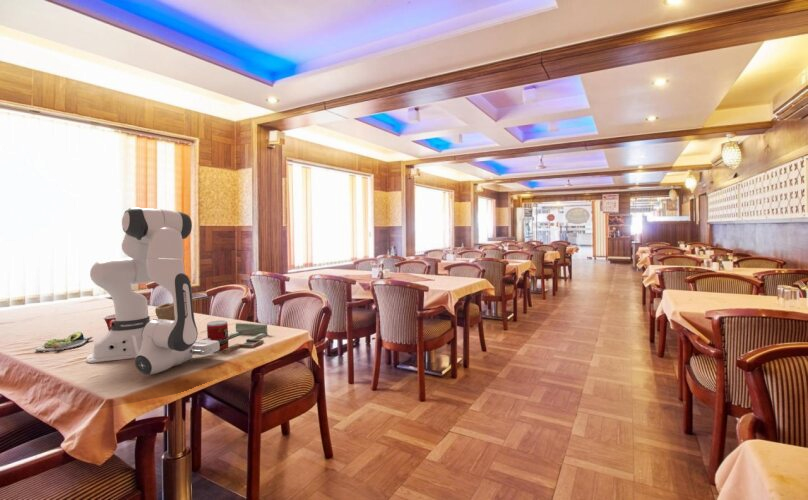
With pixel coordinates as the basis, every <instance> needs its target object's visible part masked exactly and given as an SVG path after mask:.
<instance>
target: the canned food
mask: <svg viewBox="0 0 808 500" xmlns="http://www.w3.org/2000/svg"><path fill="white" fill-rule="evenodd" d="M228 325H229V324H228V321H227V320H214V321H213V320H212V321H208V322H207V323H206V331H207V332H206V335H207V338H208V339H211V340H214V341H219V344H220V349H219V350H218V351H219V352H220V351H222V350H223V349H226V348H228V347H229V339H228V335H229V328H228ZM218 351H217V352H218Z"/></svg>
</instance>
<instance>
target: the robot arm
mask: <svg viewBox="0 0 808 500" xmlns="http://www.w3.org/2000/svg"><path fill="white" fill-rule="evenodd" d="M121 227H122V231H123V232H124V234H125V235H124V236H123V240H122V243H121V250H122V252H123V253H124V254H125V255H126V256H127V257H121V258H118V257H117V258H108V259H104V260H100V261H97V262H94V264H93V265H92V267H91V269H90V272H89V273H90V274H89V276H90V279H91V281H92V283H94V285H96V286H97V287H99V288H101V289H103V290H104V291H105V292H106V293H107V294H108V295H109V296H110V297H111V299H112V302H113V306H114V314H115V317H116V320H111V321H110V329H111V330H110V331H109V330H108V332H106V333H105V334H104V335H102V336H101V337H100V338H98V339H97V340H96V342H95V343H94V345H93V350H92V352H91V353H90V354H88V355H87V356H86V362H87V363H89V364H92V363H101V362H110V361H117V360H118V361H119V360H120V361H121V360H127V359H134V365H135V368H136V369H137V370H138V372H139V373H142V374H144V375H150V376H151V375H155V374H158V373H159V374H160V373H161V372H164V371H166V370H169V369H171V368H172V367H173V366H174V367H175V366H179V365H180V364H183V363H184V364H185V362H188V361H190V360H191V359H192V358H193V356H194V355H200V356H206V355H210V354H212V353H216V352H218V350H219V349H220V344H219V341H214V340H211V339H207V338H208V337H204V338H201V339H198V335H199V334H198V328H197V324H196V321H195V312H194V301H193V290H192V284H191V280H190V278H189V276H188V275H187V274H186V270H185V266H184V257H185V255H184V239H187V238H189V236H190V234H191V232H192V229H193V222H192V218H191V217H190V215H189V214H187V213H184V212H181V211H173V210H169V209H163V208H143V207H130V208H128V209H126V210H125V211H124V213H123V215H122V218H121ZM151 282H153V283H155V284H157V285H158V286H161V287H163V288H164V289H166V290H167V291H168V292H169V293H170V295H171V297H172V300H173V302H174V314H175V320H166V319H158V318H153V319H151V318H150V315H149V304H148V299H147V297H146V296H145V295H144V294H141V293H139V292H135V291H134V290H133V288H132V285H137V284H138V285H139V284H146V283H151ZM173 302H172V303H173Z"/></svg>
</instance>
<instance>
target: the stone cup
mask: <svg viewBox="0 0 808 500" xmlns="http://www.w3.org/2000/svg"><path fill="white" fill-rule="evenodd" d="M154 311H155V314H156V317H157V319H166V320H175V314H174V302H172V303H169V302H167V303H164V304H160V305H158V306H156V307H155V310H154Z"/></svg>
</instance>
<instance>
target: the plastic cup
mask: <svg viewBox="0 0 808 500" xmlns="http://www.w3.org/2000/svg"><path fill="white" fill-rule="evenodd" d="M102 318H103V320H104V321H105V324H106V326H107V330H108V332H109V331H110V330H111V329H110V321H111V320H116V317H115V313H114V314H109V315H106V316H103V317H102Z"/></svg>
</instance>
